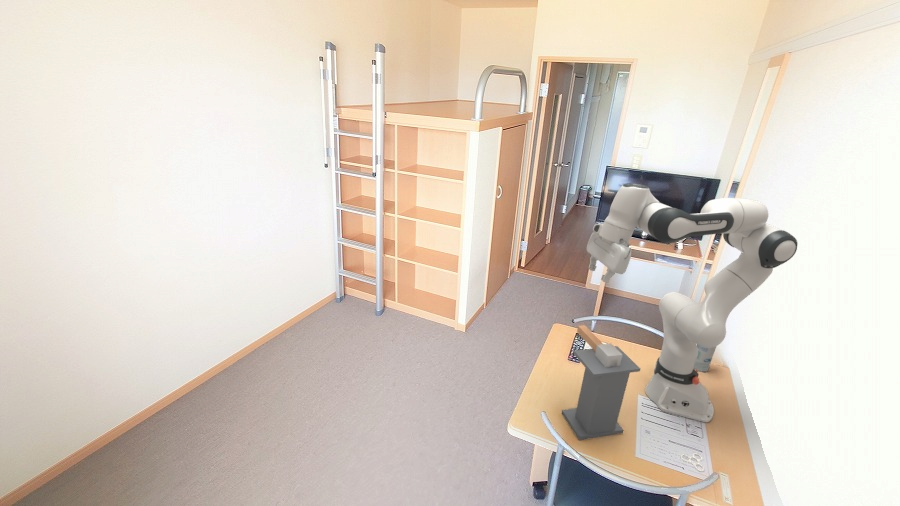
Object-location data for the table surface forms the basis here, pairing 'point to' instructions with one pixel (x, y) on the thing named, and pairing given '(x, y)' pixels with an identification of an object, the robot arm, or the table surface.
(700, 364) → the spray paint can
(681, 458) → the fidget spinner
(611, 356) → the bar
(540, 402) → the table surface
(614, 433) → the stand
